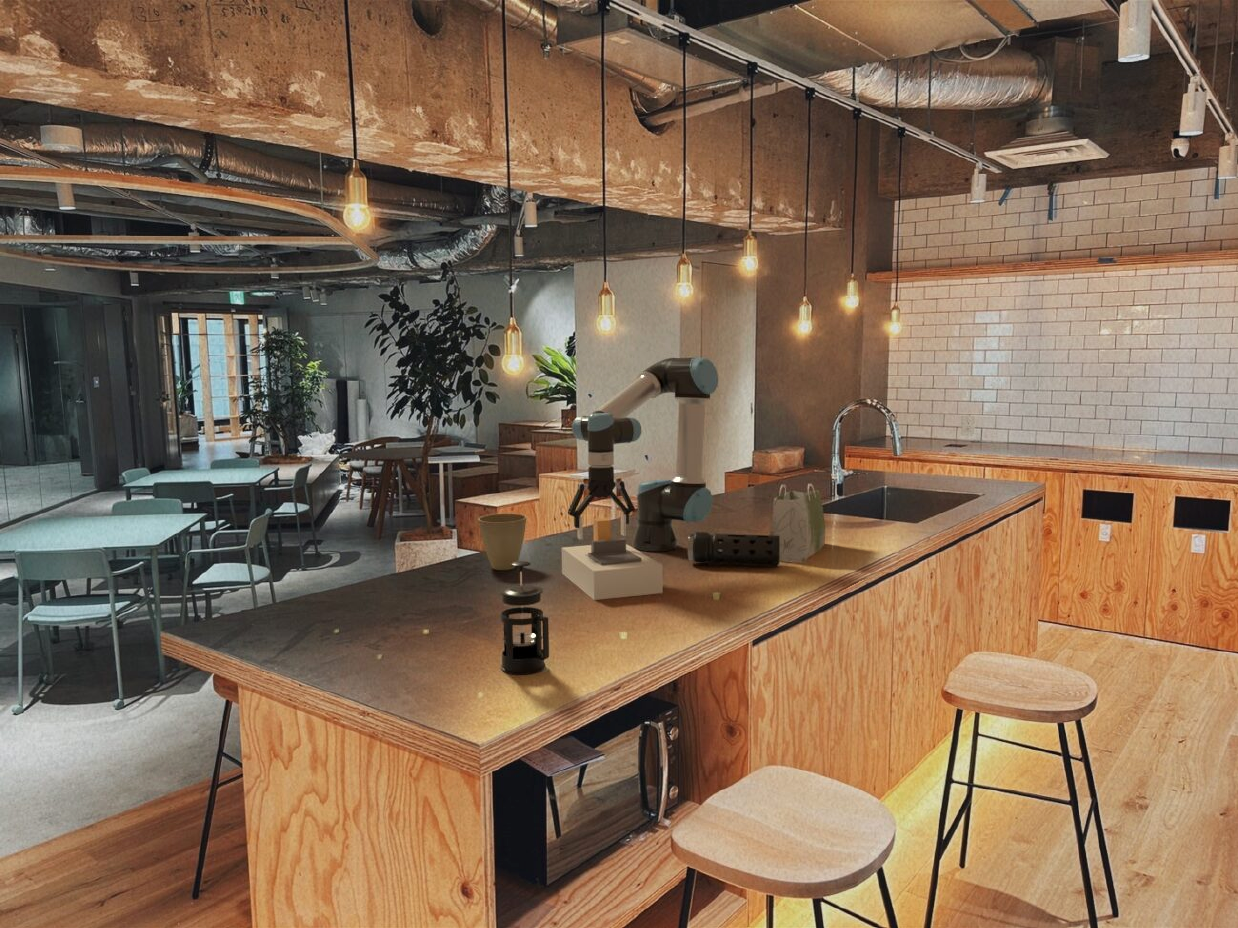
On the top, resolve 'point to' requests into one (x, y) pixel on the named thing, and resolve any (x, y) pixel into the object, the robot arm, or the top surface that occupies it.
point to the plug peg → (601, 529)
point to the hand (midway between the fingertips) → (601, 536)
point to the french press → (522, 647)
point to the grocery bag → (798, 524)
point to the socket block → (611, 574)
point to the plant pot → (502, 538)
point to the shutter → (611, 552)
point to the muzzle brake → (734, 549)
